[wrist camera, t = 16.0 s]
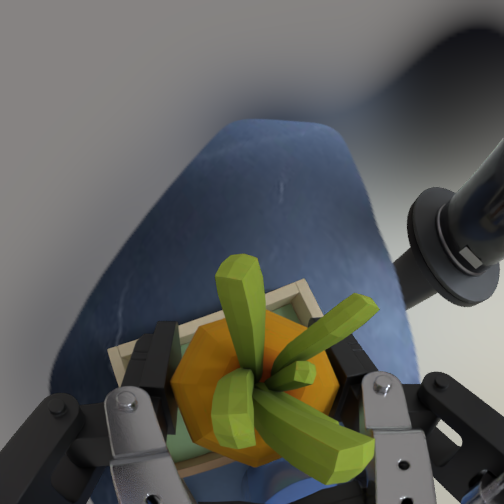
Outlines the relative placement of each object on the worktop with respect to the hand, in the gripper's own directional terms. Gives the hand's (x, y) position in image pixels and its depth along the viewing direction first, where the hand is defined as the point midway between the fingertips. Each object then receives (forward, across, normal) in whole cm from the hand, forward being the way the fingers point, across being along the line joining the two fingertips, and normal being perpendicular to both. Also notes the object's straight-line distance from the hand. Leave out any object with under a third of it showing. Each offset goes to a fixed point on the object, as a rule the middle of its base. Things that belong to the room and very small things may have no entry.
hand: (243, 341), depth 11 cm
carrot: (+4, 0, +7) cm, 8 cm away
